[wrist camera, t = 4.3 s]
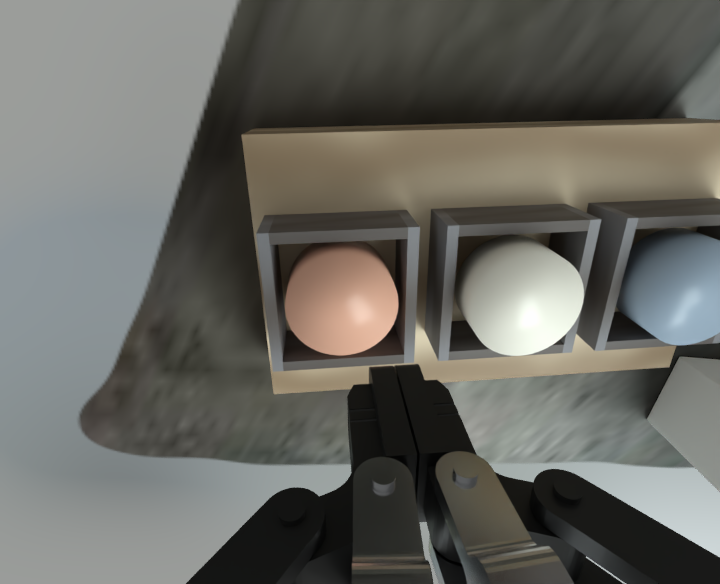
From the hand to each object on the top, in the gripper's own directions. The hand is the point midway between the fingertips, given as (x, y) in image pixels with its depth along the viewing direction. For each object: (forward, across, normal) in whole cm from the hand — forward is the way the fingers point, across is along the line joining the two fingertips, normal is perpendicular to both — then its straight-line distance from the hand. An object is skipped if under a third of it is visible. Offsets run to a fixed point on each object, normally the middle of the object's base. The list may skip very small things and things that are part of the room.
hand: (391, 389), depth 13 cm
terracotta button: (+9, +1, 0) cm, 9 cm away
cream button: (+8, -7, 0) cm, 10 cm away
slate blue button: (+8, -15, 0) cm, 17 cm away
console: (+14, -7, 0) cm, 15 cm away
